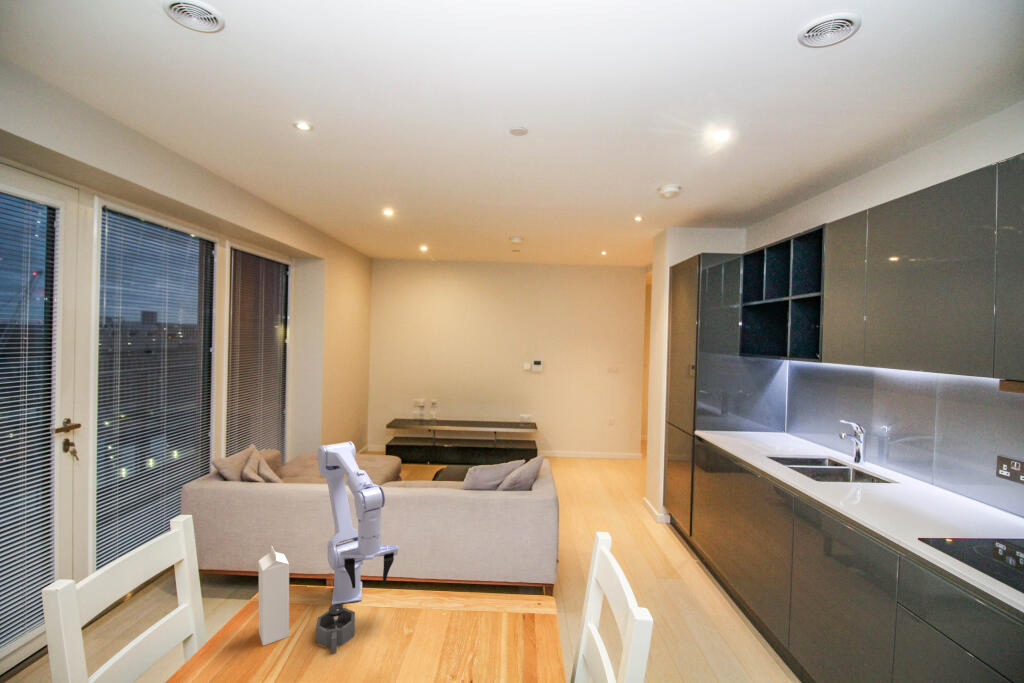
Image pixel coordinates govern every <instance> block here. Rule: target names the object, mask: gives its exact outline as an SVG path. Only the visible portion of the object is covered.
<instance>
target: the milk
mask: <svg viewBox="0 0 1024 683" xmlns="http://www.w3.org/2000/svg"><path fill="white" fill-rule="evenodd" d="M270 546H271V548H270V550H271V551H269V552H268V553H267V554H266V555H264V556H263V557H261V558H260V559H259V560H258V634H259V638H260V641H261V644H262V646H263V647H264V646H266V645H269V644H271V643H272V644H273V643H275V642H278V641H280V640H284V639H286V638H288V637H290V563H289V561H288V559H287V557H286V556H285V554H284V553H280V552H278V551H276V550H274V547H273V545H270Z"/></svg>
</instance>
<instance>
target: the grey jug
mask: <svg viewBox="0 0 1024 683" xmlns="http://www.w3.org/2000/svg"><path fill="white" fill-rule="evenodd" d="M355 621H356V612H355V611H353V610H351V609H348V607H347V608H346V607H343V613H342V614H341V615H339V616H338V623H345V624H346V625H344V626H343V627H342V628H336V629H330V630H328V629H326V627H328V626H329V625H331V624H334V617H333V616H330V615H329V610H327V611H325V612H324V613H322V614H321V615H320V616H318V617H317V619H316V627H315V644H318V645H319V646H322V647H324V648H326V649H327V648H328V649H329V648H330V653H331V654H334V653H337V652H338V647H340V646H344V645H345V644H346V643H347V642H349V641H350V640H351V639H353V638H354V637H355V629H356V624H355V623H356V622H355Z"/></svg>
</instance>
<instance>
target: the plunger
mask: <svg viewBox="0 0 1024 683" xmlns="http://www.w3.org/2000/svg"><path fill="white" fill-rule="evenodd" d="M343 608H344V605H343V603H341V604H334V605H332V604H331V605H330V606H329V608H328V611H329V615H330V616H333V617H334V624H331V625H329V626H328V627H326V629H328V630H330V629H336V628H342V627H343V626H344V625H346V624H345V623H338V616H339V615H341V614H342V613H343Z"/></svg>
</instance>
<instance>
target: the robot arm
mask: <svg viewBox="0 0 1024 683" xmlns="http://www.w3.org/2000/svg"><path fill="white" fill-rule="evenodd" d="M356 454H357V451H356V445H355V444H354V443H353V441H350V440H348V441H346V442H339V443H333V444H332V443H331V444H327V445H326V444H325V445H319V447H318V449H317V454H316V455H317V456H316V458H317V464H318V466H317V467H318V471H319V474H320V476H323V477H325V479H326V484H327V486H328V494H329V499H330V501H329V502H330V506H331V511H332V517H333V525H334V529H335V530H334V531H335V533H334V534H333V535H332V536H331V538H330V539H329V541H328V542H327V562H328V565H329V568H331V569H332V570H334V571H333V572H334V573H333V574H334V575H333V579H334V580H333V583H334V584H333V585H334V586H333V592H332V599H331V606H332V605H334V604H347V603H355V602H360V601H362V599H363V596H362V595H363V581H361V579H362V578H361V577H362V576H361V574H362V572H361V567H362V565H363V562H364V561H371V560H373V559H374V558H375V557H376V558H377V557H383V570H382V572H383V573H382V585H386V584H387V578H388V575H389V571H390V569H391V567H392V565H393V563H394V560H395V557H394V556H398V554H399V546H398V545H397V544H394V545H393V544H390V545H388V544H381V543H382V542H381V540H382V538H381V537H382V536H381V535H382V534H381V533H382V526H381V525H382V522H381V521H382V519H381V518H382V509H383V508H384V507H385V506H386V504H385V503H386V496H385V491H384V489H383V488H382V486H381V485H378V484H377V483H376V484H374V482H373V481H372V479H371V478H370V477H369V475H368V473H367V472H366V471H365V470H364V469H360V468H359V465H358V463H357V462H356V456H357V455H356ZM344 476H346V477H347V478H346V481H345V477H344ZM346 485H347V487H348V489H349V490H350V492H351V494H352V496H353V497H354V498H353V500H354V507H355V515H356V518H357V525H358V526H357V529H355V528H354V526H353V520H352V515H351V509H350V503H349V498H348V491H347V487H346ZM349 540H350V541H349ZM360 589H361V590H360Z"/></svg>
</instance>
